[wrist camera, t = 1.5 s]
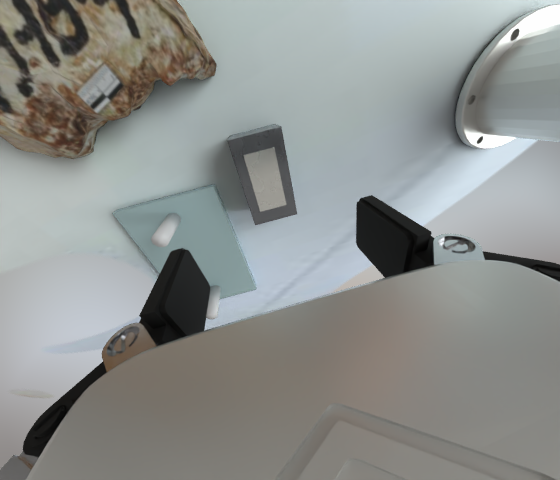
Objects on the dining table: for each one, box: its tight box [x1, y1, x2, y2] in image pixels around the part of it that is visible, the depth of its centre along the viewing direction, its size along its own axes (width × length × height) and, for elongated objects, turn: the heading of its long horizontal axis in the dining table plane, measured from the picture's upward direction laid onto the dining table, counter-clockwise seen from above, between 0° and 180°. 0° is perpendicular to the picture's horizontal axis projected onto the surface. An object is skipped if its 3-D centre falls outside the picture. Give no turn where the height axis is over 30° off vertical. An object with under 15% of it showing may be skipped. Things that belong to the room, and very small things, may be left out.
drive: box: [227, 124, 297, 225], centre depth 22 cm, size 5×9×5 cm, turn 13°
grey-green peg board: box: [113, 184, 256, 319], centre depth 26 cm, size 12×18×6 cm, turn 13°
